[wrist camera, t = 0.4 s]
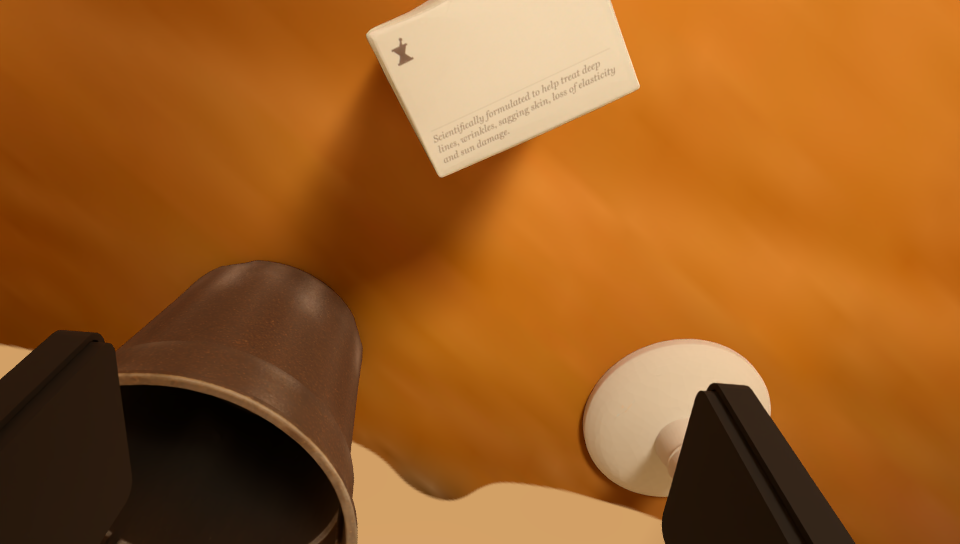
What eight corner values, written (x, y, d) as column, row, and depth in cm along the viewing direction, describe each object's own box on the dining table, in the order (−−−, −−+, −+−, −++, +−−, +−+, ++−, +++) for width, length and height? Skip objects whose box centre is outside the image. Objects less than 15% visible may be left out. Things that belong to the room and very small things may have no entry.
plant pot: (341, 475, 49) (286, 694, 34) (116, 397, 46) (-51, 599, 31) (432, 291, 43) (414, 459, 28) (181, 186, 40) (13, 314, 25)
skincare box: (444, 115, 38) (430, 195, 25) (395, 11, 36) (351, 36, 23) (582, 51, 37) (648, 99, 24) (541, -60, 35) (587, -79, 21)
